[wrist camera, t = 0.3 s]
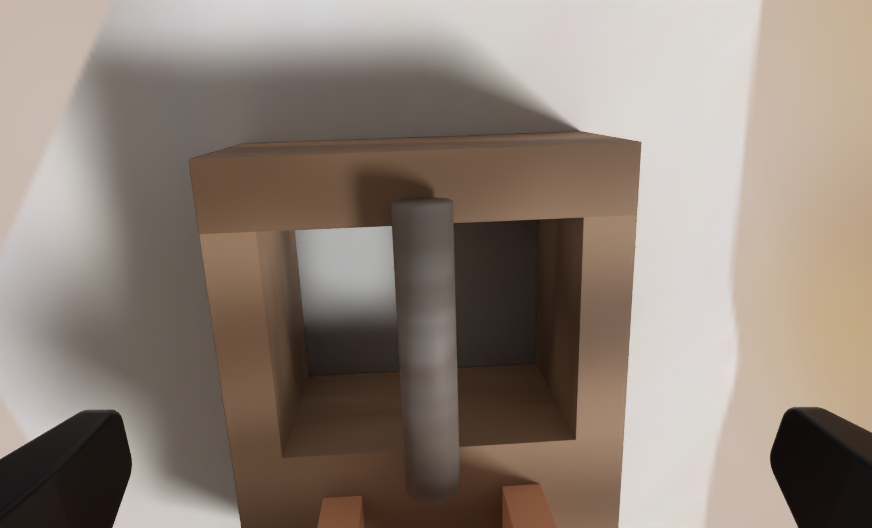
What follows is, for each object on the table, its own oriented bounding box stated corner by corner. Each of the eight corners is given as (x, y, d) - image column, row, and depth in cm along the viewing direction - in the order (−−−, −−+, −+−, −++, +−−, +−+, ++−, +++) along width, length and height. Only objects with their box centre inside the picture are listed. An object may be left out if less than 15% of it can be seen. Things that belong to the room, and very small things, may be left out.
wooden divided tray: (568, 510, 26) (629, 660, 19) (288, 529, 25) (245, 691, 18) (581, 131, 21) (666, 146, 14) (242, 143, 21) (165, 165, 14)
